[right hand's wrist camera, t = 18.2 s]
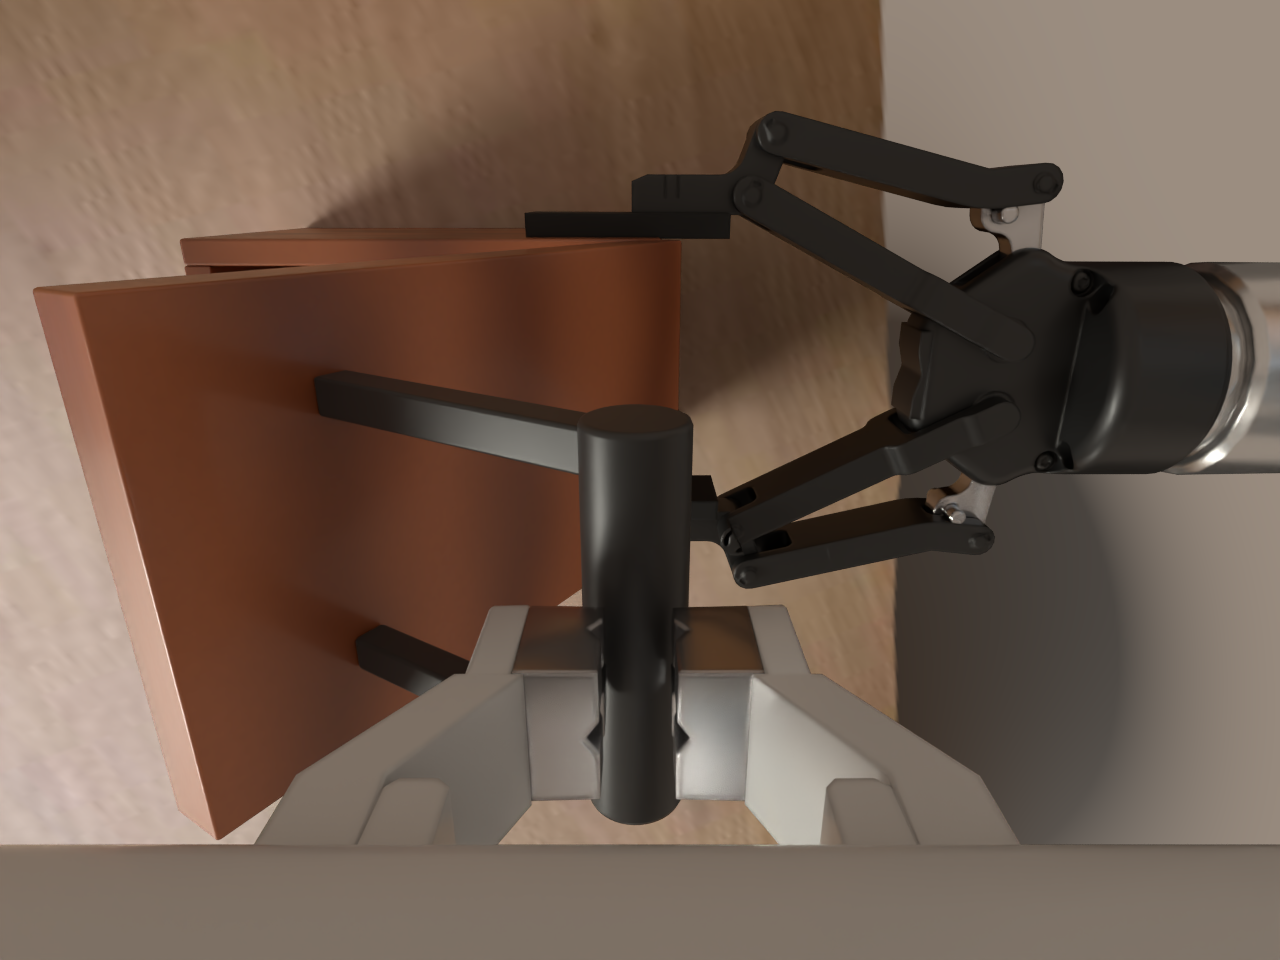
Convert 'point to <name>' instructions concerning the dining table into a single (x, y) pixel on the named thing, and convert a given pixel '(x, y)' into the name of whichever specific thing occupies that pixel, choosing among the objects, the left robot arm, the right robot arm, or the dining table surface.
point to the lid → (380, 493)
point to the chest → (356, 246)
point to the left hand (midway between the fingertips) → (537, 369)
